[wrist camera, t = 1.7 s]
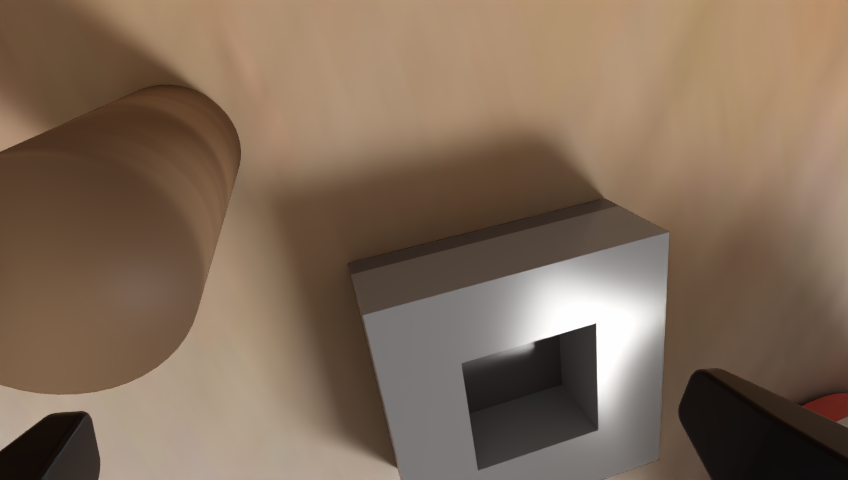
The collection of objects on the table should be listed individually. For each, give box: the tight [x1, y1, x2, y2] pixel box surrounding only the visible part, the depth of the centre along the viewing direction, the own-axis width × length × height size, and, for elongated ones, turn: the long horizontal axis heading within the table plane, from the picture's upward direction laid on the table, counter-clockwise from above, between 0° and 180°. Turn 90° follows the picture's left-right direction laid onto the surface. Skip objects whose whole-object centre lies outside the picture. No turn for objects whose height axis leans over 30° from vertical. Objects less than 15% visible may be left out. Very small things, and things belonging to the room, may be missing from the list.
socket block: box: [348, 199, 669, 480], centre depth 21 cm, size 11×11×4 cm
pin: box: [0, 85, 241, 395], centre depth 12 cm, size 4×4×10 cm
